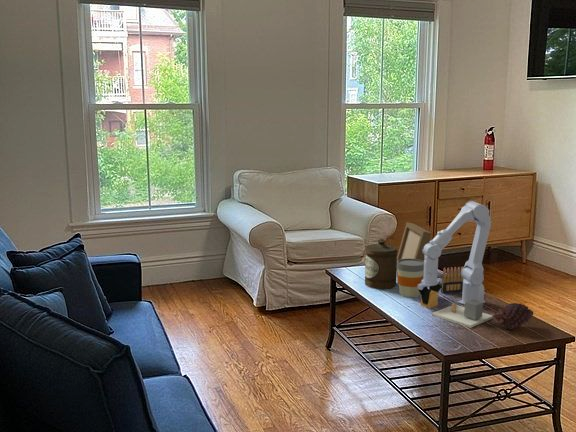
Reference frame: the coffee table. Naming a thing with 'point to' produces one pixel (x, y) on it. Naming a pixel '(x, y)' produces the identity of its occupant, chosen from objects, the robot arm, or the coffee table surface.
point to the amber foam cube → (431, 300)
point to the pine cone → (513, 315)
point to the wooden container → (381, 265)
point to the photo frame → (413, 242)
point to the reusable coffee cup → (409, 276)
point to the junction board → (460, 316)
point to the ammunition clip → (452, 281)
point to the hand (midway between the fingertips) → (429, 302)
